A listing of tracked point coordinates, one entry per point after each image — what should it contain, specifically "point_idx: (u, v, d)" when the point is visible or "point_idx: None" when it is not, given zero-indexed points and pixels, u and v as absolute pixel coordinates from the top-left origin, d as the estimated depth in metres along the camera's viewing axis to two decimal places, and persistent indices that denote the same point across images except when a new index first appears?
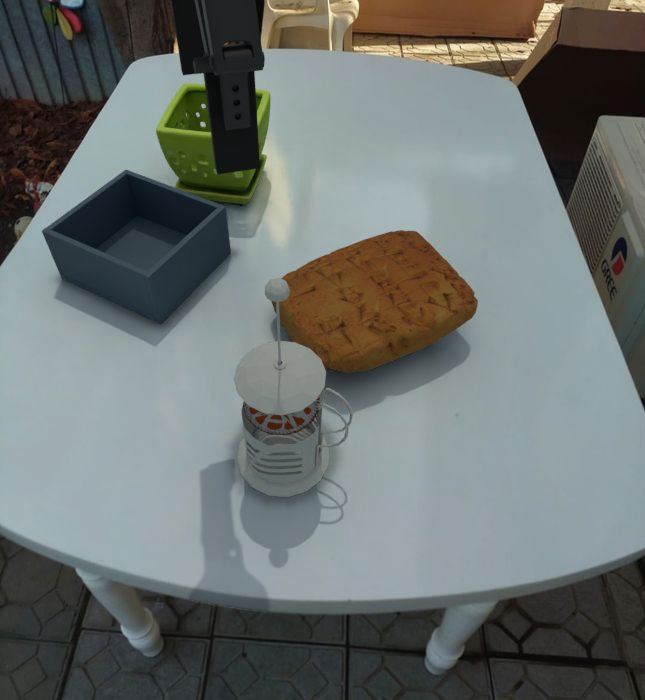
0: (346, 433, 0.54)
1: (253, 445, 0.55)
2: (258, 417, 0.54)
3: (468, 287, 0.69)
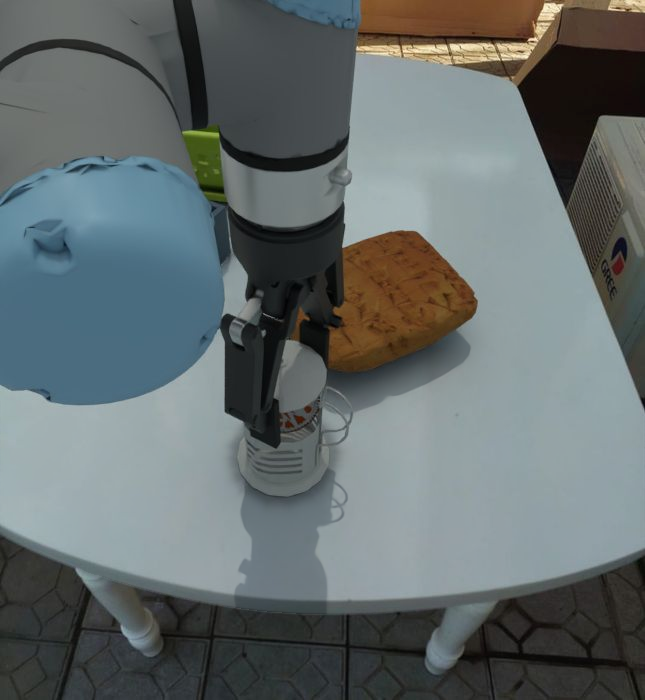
0: (346, 432, 0.54)
1: (253, 444, 0.55)
2: None
3: (468, 287, 0.69)
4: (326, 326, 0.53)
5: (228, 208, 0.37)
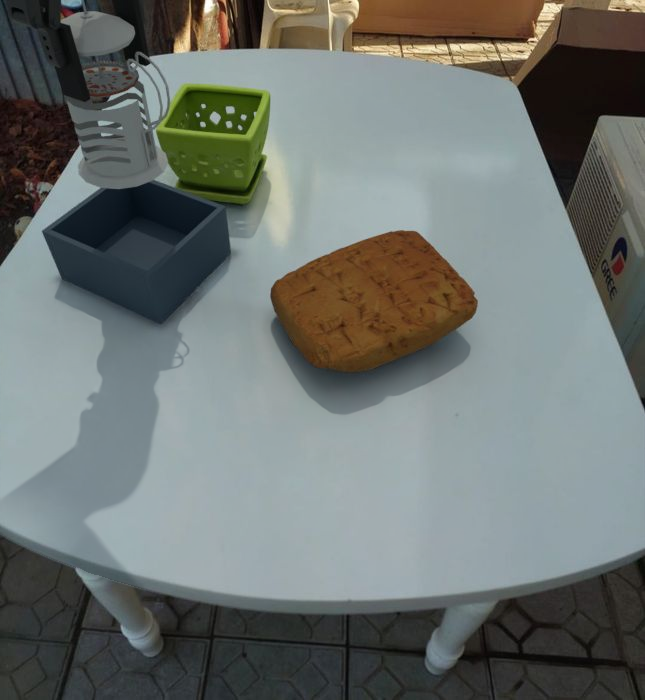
0: (160, 102, 0.57)
1: (76, 119, 0.58)
2: None
3: (468, 287, 0.69)
4: None
5: None
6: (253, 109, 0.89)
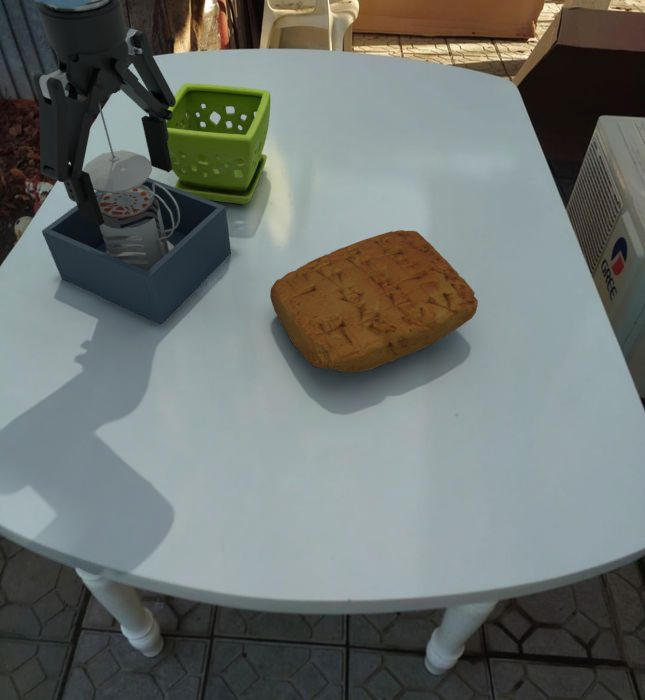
0: (172, 220, 0.72)
1: (104, 233, 0.73)
2: (106, 209, 0.72)
3: (468, 287, 0.69)
4: (163, 122, 0.71)
5: (39, 3, 0.55)
6: (253, 109, 0.89)
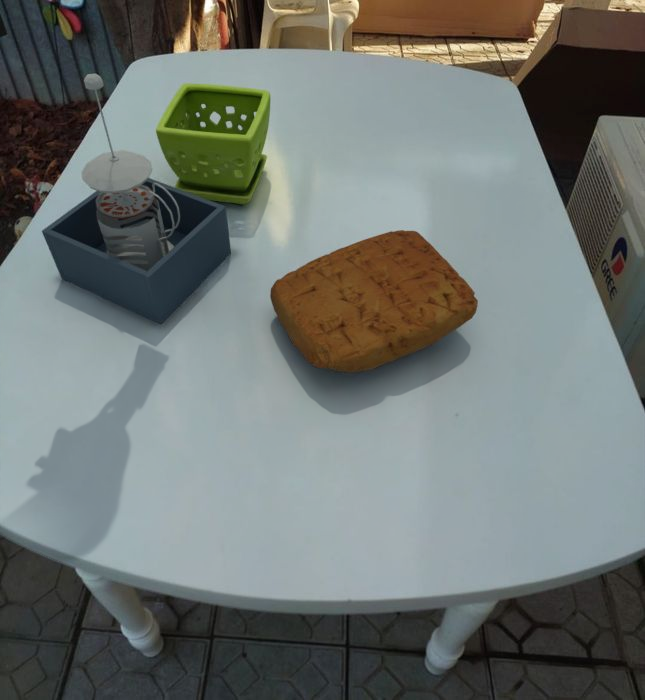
0: (172, 220, 0.72)
1: (104, 233, 0.73)
2: (106, 209, 0.72)
3: (468, 287, 0.69)
4: None
5: None
6: (253, 109, 0.89)
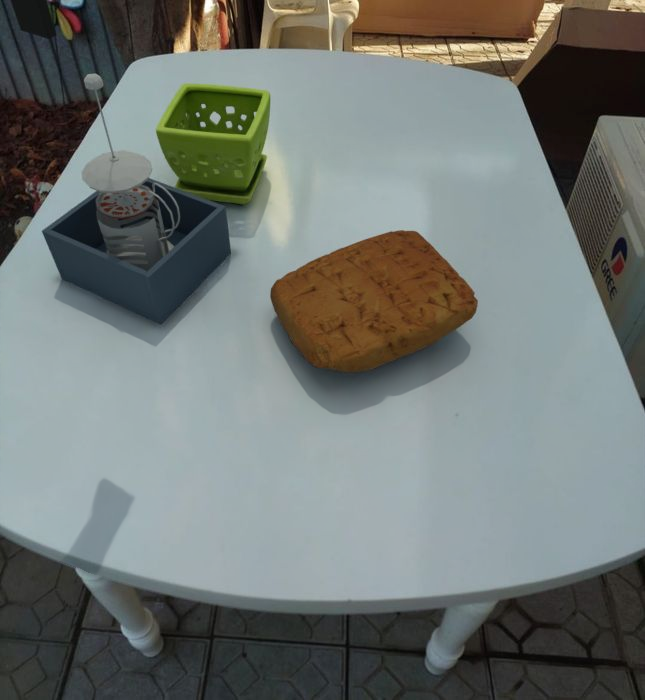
0: (172, 220, 0.72)
1: (104, 233, 0.73)
2: (106, 209, 0.72)
3: (468, 287, 0.69)
4: None
5: None
6: (253, 109, 0.89)
